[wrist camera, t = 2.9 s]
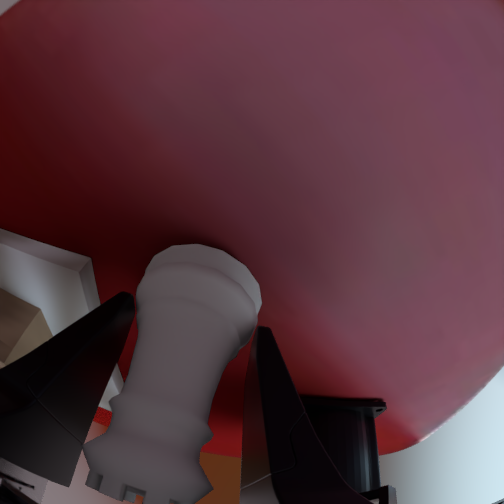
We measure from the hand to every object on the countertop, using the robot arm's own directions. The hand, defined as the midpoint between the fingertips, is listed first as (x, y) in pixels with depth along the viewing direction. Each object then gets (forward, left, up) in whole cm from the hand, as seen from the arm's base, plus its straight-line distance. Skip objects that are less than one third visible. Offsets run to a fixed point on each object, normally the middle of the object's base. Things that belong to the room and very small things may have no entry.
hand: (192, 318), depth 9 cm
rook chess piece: (0, 0, -2) cm, 2 cm away
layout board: (+13, +8, -2) cm, 15 cm away
